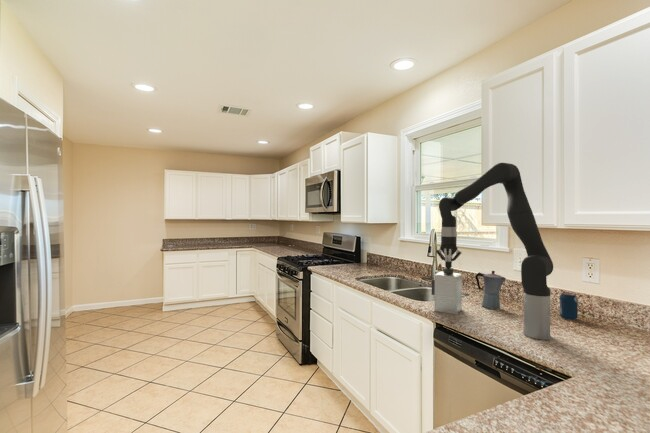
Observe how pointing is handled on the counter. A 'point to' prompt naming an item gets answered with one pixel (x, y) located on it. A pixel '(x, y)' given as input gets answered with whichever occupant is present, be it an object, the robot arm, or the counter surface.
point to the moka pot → (491, 289)
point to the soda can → (568, 306)
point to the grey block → (447, 292)
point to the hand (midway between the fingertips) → (448, 268)
